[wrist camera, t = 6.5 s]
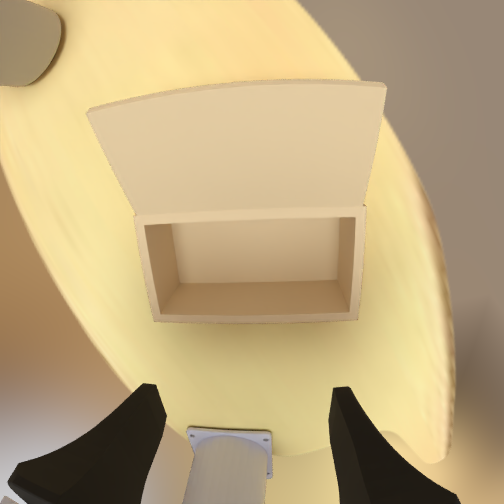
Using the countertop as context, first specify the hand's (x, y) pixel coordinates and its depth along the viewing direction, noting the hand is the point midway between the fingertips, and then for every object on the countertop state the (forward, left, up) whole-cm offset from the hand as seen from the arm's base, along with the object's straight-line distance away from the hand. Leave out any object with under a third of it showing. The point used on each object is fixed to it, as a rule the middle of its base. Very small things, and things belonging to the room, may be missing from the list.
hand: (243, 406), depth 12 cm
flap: (+9, 0, -3) cm, 10 cm away
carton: (+4, 0, -10) cm, 10 cm away
